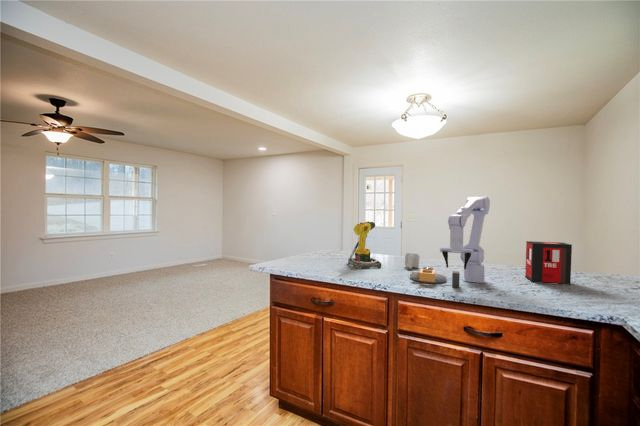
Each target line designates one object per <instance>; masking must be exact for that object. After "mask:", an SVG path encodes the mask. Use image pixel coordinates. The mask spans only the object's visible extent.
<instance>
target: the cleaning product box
mask: <svg viewBox="0 0 640 426" xmlns="http://www.w3.org/2000/svg"><path fill="white" fill-rule="evenodd" d="M525 242H526V247H525V248H526V249H525V275H524V277H525V279H526V278H527V279H528V281H529V280H530V281H531V282H530V281H529V282H530V283H534V282H542V283H541V284H548V283H558V284H557V285H562V284H569V285H568V286H571V280H572V279H571V278H572V277H571V276H572V251H573V244H570V243H567V242H558V241H557V242H556V241H554V242H553V241H531V240H529V241H528V240H527V241H525ZM527 279H526V280H527Z"/></svg>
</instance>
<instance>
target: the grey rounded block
mask: <svg viewBox="0 0 640 426" xmlns="http://www.w3.org/2000/svg"><path fill="white" fill-rule="evenodd" d="M404 257H405V258H404V266H405V267H406V269H407V270H413V268H417V269H418V268H419V267H420V255H419V254H418V253H410V252H409V253H405V256H404Z"/></svg>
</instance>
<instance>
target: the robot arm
mask: <svg viewBox="0 0 640 426" xmlns="http://www.w3.org/2000/svg"><path fill="white" fill-rule="evenodd" d="M490 201H491V200H490V198H489V196H468V197H467V198H466V204H465V205H464V206H461V207H460V208H459V209H458V210H457V211H456V212H455V213H454V214H451V215H449V216H448V218H447V224H448V229H449V231H450V233H449V234H450V235H449V237H450V238H449V247H439V252H440V253H441V254H442V256H443V259H444V261H445V265H446V268H448V269H449V253H451V254H459V255H460V260H461V261H462V263H463V277H462V281H463V282H469V283H479V284H480V283H481V284H485V279H486V276H485V264H483V262H484V261H485V256H484V255H485V251H484V249H483V248H482V247H481V246H480V243H481V238H482V237H481V236H482V232H483V228H484V227H483V226H484V221H485V216H486V215H488V214H489V211H490V208H491V207H490V206H491V202H490ZM471 215H473V220H472V225H471V230H470V235H469V239H468V243H467V244H465V245H464V227H466V224H467V221H468V219H469V217H470V216H471Z"/></svg>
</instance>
